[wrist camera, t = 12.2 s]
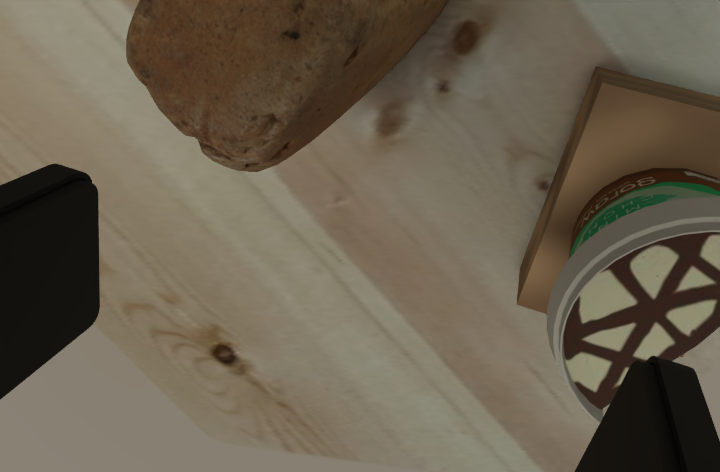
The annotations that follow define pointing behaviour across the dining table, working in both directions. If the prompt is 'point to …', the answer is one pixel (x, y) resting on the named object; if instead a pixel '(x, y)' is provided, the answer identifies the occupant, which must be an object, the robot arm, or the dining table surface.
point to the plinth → (616, 160)
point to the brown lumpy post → (267, 67)
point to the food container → (636, 280)
